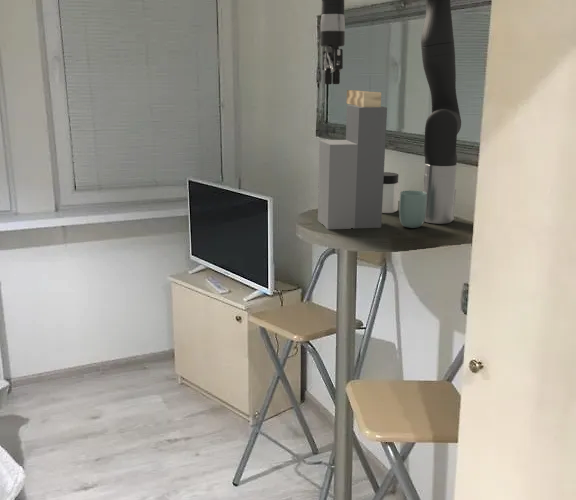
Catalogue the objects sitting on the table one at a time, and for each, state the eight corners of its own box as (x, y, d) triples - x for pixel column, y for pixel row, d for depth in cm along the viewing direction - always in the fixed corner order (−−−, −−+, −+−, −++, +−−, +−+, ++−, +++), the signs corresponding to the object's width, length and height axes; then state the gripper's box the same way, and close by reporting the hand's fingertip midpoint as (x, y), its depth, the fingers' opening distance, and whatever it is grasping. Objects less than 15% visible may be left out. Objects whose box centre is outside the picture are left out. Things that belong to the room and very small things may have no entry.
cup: (425, 230, 186) (427, 195, 183) (397, 228, 187) (399, 194, 184) (425, 224, 193) (427, 191, 190) (398, 222, 194) (400, 189, 192)
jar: (377, 206, 217) (379, 171, 214) (400, 209, 213) (402, 173, 210) (366, 211, 210) (368, 174, 207) (390, 214, 206) (392, 176, 203)
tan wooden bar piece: (342, 103, 199) (343, 90, 198) (358, 103, 200) (358, 90, 199) (363, 107, 179) (364, 92, 178) (380, 107, 180) (381, 92, 179)
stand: (317, 220, 197) (320, 105, 188) (368, 218, 200) (373, 105, 191) (327, 229, 185) (330, 107, 176) (381, 227, 188) (387, 107, 179)
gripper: (351, 28, 196) (350, 84, 200) (337, 32, 210) (336, 84, 214) (327, 28, 195) (326, 84, 199) (314, 32, 208) (314, 84, 212)
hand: (331, 84), depth 206 cm, fingers open, 8 cm apart
